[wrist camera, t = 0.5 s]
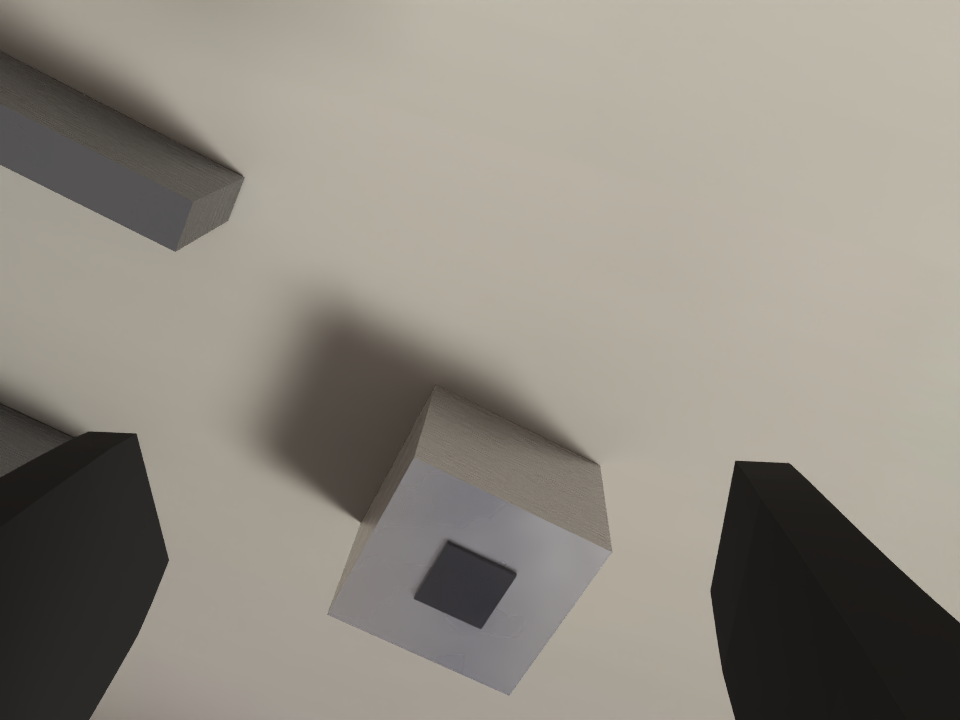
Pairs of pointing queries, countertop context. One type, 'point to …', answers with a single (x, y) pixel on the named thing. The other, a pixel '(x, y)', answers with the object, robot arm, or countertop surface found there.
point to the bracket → (100, 188)
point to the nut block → (475, 543)
